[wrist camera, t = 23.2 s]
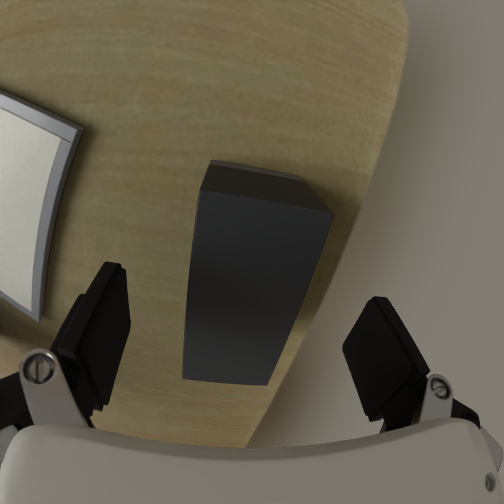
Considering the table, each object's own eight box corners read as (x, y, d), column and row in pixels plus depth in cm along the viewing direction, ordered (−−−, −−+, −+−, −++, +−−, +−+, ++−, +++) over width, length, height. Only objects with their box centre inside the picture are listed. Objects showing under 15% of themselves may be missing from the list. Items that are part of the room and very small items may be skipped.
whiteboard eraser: (210, 159, 13) (199, 189, 8) (298, 175, 14) (334, 214, 9) (190, 311, 18) (182, 379, 13) (257, 319, 19) (267, 385, 14)
